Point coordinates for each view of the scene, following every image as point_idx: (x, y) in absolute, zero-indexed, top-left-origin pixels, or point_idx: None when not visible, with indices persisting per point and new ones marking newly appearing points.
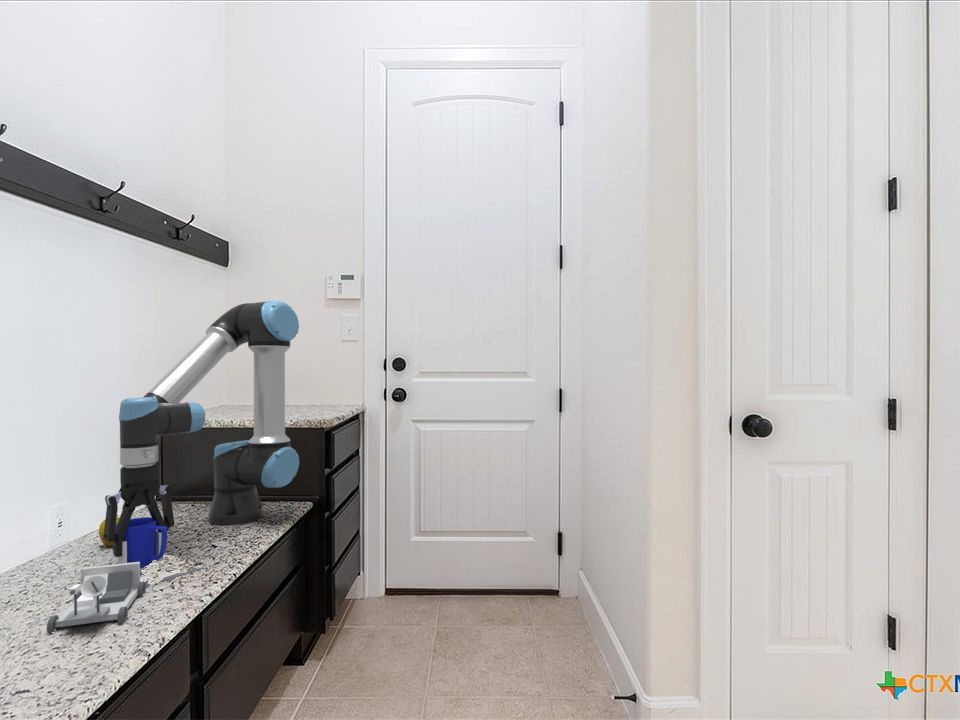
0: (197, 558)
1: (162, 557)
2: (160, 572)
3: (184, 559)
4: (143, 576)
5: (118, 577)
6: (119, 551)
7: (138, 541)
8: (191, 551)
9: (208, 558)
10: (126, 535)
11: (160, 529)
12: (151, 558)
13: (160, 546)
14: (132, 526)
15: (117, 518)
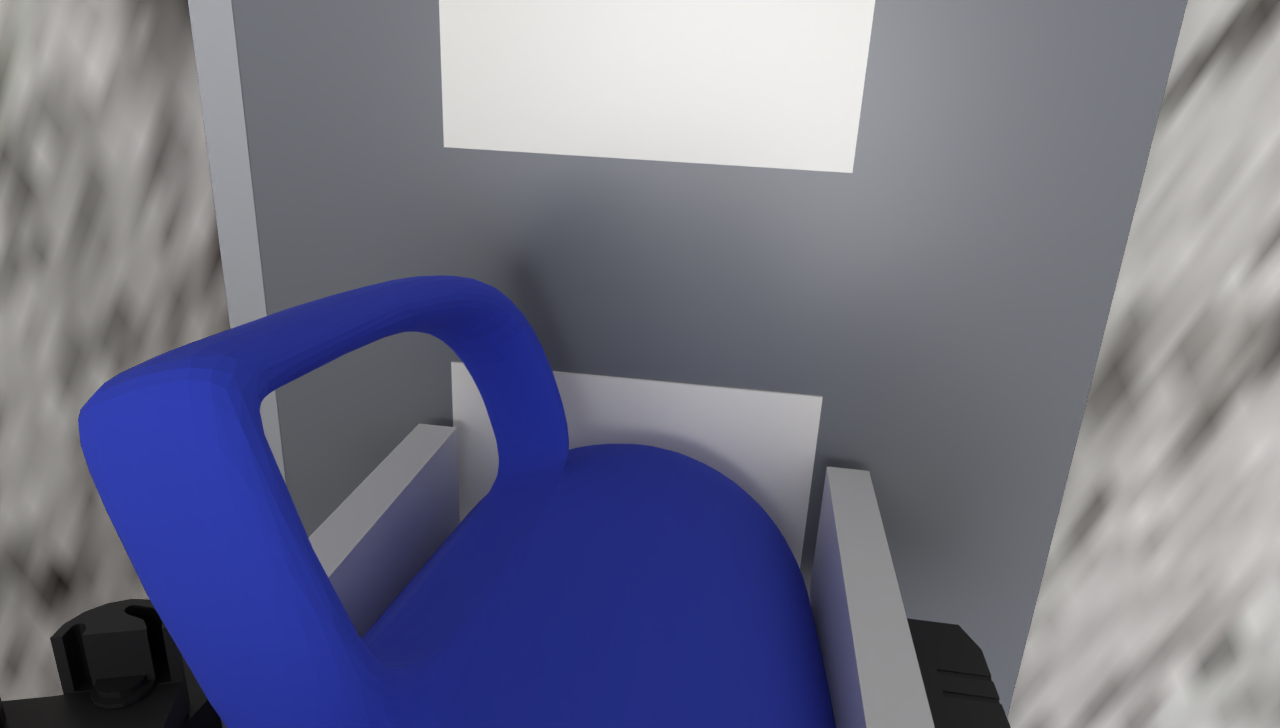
0: (114, 193)
1: (405, 438)
2: (623, 79)
3: (226, 305)
4: (814, 141)
5: None
6: (941, 674)
7: (673, 639)
8: (81, 475)
9: (23, 62)
10: None
11: (257, 431)
12: (559, 407)
13: (360, 516)
14: None
15: None
